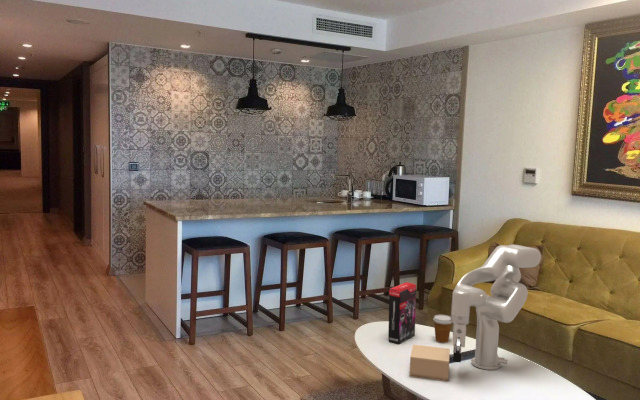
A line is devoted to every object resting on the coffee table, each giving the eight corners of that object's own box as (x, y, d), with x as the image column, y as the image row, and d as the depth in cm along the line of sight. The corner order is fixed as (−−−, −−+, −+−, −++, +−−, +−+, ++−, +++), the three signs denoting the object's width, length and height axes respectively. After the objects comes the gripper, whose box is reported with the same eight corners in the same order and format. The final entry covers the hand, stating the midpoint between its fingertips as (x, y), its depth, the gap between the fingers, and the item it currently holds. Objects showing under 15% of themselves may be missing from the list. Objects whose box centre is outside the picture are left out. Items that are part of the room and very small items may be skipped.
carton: (448, 367, 243) (449, 350, 242) (448, 381, 229) (449, 362, 228) (412, 363, 247) (413, 346, 246) (409, 376, 233) (410, 358, 232)
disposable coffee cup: (428, 340, 275) (429, 317, 274) (438, 335, 282) (439, 313, 281) (445, 345, 269) (446, 322, 268) (455, 340, 276) (456, 317, 274)
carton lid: (462, 355, 241) (462, 346, 240) (462, 368, 227) (463, 359, 227) (412, 349, 246) (413, 340, 246) (410, 361, 232) (410, 352, 232)
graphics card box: (398, 345, 268) (401, 291, 265) (386, 341, 272) (388, 288, 269) (415, 335, 281) (417, 284, 278) (403, 332, 285) (405, 281, 282)
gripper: (469, 325, 223) (466, 366, 225) (468, 313, 240) (465, 351, 241) (450, 323, 225) (447, 363, 226) (451, 311, 241) (448, 349, 243)
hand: (456, 357), depth 234 cm, fingers open, 9 cm apart
